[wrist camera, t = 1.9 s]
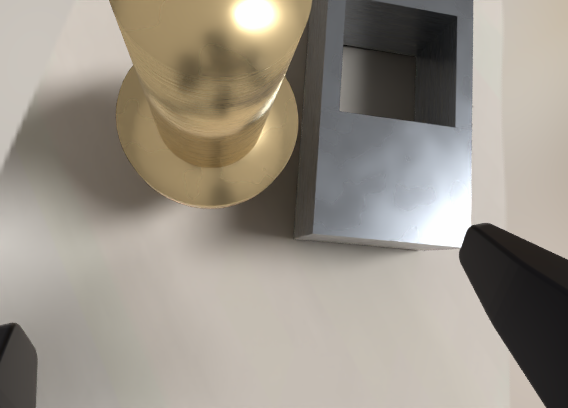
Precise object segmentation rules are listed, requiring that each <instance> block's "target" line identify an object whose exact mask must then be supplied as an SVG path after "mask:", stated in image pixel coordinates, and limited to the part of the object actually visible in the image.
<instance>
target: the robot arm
mask: <svg viewBox="0 0 568 408" xmlns="http://www.w3.org/2000/svg"><path fill="white" fill-rule="evenodd" d="M459 259H460V262H461V265H462V267H463V269H464V271H465V273H466V275H467V276H468V278H469V280H470V282H471V284H472V286H473V288H474V290H475V292H476V294H477V296H478V298H479V300H480V302H481V304H482V306H483V308H484V310H485V312H486V314H487V315H488V317H489V319H490V321H491V323H492V324H493V326H494V328H495V329H496V331H497V332H498V334H499V336H500V337H501V339H502V340H503V342H504V343H505V345H506V346H507V348H508V349H509V351H510V353H511V354H512V355H513V357H514V359H515V360H516V362H517V363H518V365H519V366H520V368H521V370H522V371H523V373H524V374H525V376H526V377H527V379H528V380H529V382H530V383H531V385H532V387H533V388H534V390H535V391H536V393H537V394H538V396H539V397H540V399H541V400H542V402H543V403H544V405H545V406H546V408H568V260H567V259H565V258H563V257H561V256H559V255H556V254H554V253H552V252H550V251H548V250H546V249H544V248H541V247H539V246H537V245H535V244H533V243H531V242H529V241H526V240H524V239H522V238H520V237H518V236H516V235H514V234H512V233H509V232H507V231H505V230H503V229H501V228H499V227H496V226H494V225H492V224H490V223H481V224H477V225H472V226H470V227H469V228H468V229H467V231H466V233H465V236H464V239H463V242H462V245H461V248H460V251H459ZM36 387H37V353H36V350H35V348H34V346H33V344H32V343H31V341H30V340H29V338H28V337H27V335H26V334H25V332H24V331H23V329H22V328H21V327H20V325H18V324H17V323H9V324H4V325H0V408H36Z"/></svg>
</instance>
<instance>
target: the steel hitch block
mask: <svg viewBox="0 0 568 408" xmlns="http://www.w3.org/2000/svg"><path fill="white" fill-rule="evenodd" d="M343 44H344V45H350V46H356V47H362V48H368V49H374V50H380V51H386V52H392V53H398V54H404V55H410V56H416V82H415V113H414V122H412V121H405V120H398V119H391V118H383V117H376V116H369V115H362V114H355V113H348V112H341V111H339V106H340V89H341V72H342V55H343ZM472 69H473V0H312V5H311V11H310V16H309V30H308V44H307V58H306V71H305V85H304V99H303V113H302V127H301V141H300V154H299V168H298V182H297V196H296V210H295V224H294V237H293V239H299V240H310V241H322V242H333V243H344V244H356V245H367V246H378V247H390V248H401V249H413V250H424V251H425V250H444V249H460V248H461V245H462V242H463V239H464V236H465V233H466V231H467V229H468V228H469V227H470V226H471V163H472Z"/></svg>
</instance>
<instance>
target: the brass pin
mask: <svg viewBox="0 0 568 408" xmlns="http://www.w3.org/2000/svg"><path fill="white" fill-rule="evenodd" d="M109 1H110V4H111V7H112V9H113V12H114V15H115V17H116V20H117V23H118V25H119V28H120V31H121V33H122V36H123V39H124V41H125V44H126V47H127V49H128V52H129V54H130V57H131V60H132V62H133V66H132V68H131V69H130V70H129V72H128V73H127V75H126V77H125V79H124V81H123V83H122V86H121V88H120V91H119V95H118V99H117V105H116V126H117V131H118V136H119V140H120V143H121V145H122V148H123V151H124V152H125V154H126V156H127V158H128V160H129V162H130V163H131V164H132V166H133V167H134V168H135V170H136V171H137V172H138V174H139V175H140V176H141V177H142V178H143V179H144V180H145V182H146V183H147V184H148V185H149V186H151V187H152V188H153V189H154V190H156V191H157V192H158V193H160V194H162V195H163V196H165V197H167V198H168V199H171V200H173V201H175V202H177V203H180V204H183V205H187V206H190V207H196V208H207V209H215V208H225V207H229V206H234V205H237V204H240V203H242V202H245V201H247V200H249V199H251V198H253V197H255V196H257V195H258V194H259V193H261V192H262V191H264V190H265V189H266V188H267V187H268V186H269V185H270V184H271V183H272V182H273V181H274V180H275V179H276V177H277V176H278V175H279V174H280V173H281V171H282V170H283V169H284V167H285V166H286V164H287V162H288V161H289V159H290V157H291V154H292V152H293V150H294V146H295V143H296V139H297V133H298V111H297V104H296V101H295V97H294V94H293V91H292V89H291V86H290V84H289V82H288V81H287V79H286V77H285V74H286V72H287V69H288V67H289V65H290V62H291V60H292V57H293V55H294V52H295V50H296V48H297V45H298V43H299V40H300V38H301V36H302V33H303V31H304V28H305V26H306V23H307V21H308V18H309V14H310V11H311V5H312V0H109Z"/></svg>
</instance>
